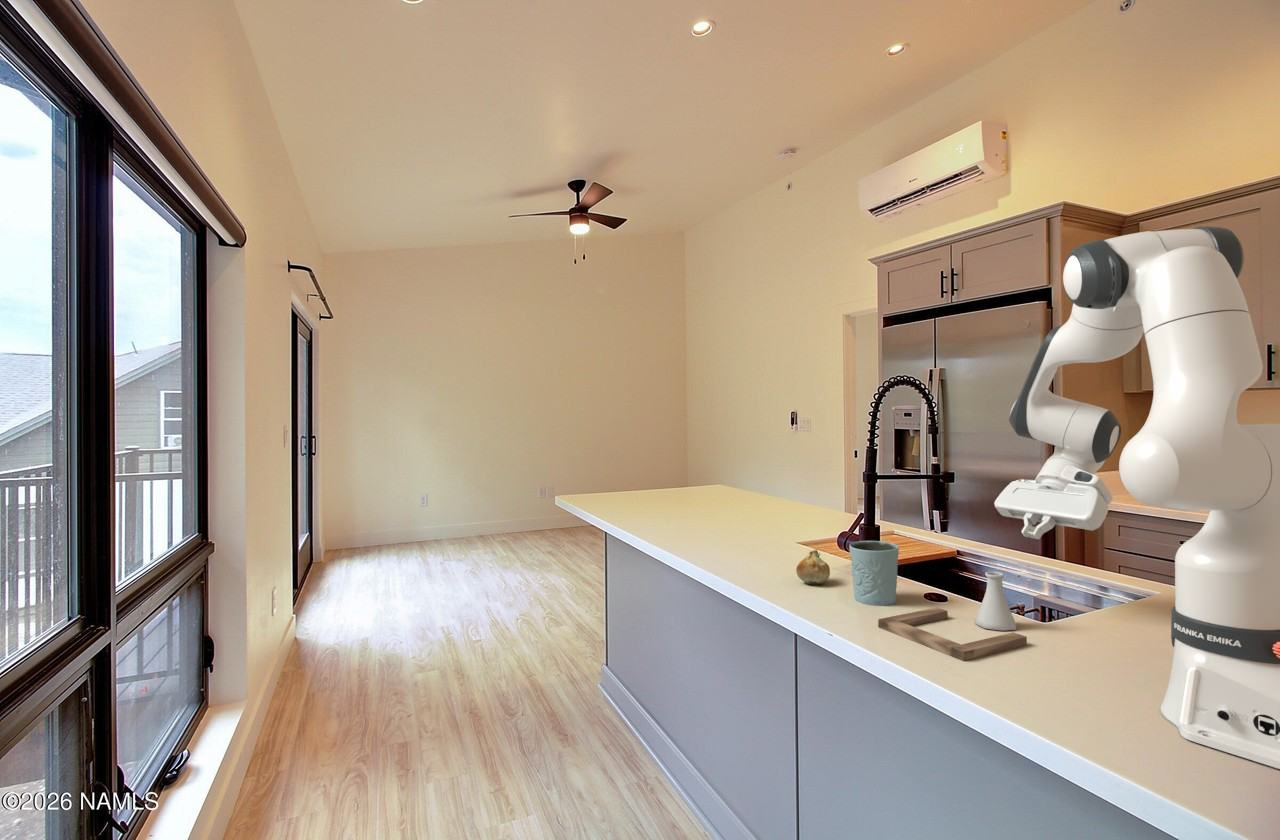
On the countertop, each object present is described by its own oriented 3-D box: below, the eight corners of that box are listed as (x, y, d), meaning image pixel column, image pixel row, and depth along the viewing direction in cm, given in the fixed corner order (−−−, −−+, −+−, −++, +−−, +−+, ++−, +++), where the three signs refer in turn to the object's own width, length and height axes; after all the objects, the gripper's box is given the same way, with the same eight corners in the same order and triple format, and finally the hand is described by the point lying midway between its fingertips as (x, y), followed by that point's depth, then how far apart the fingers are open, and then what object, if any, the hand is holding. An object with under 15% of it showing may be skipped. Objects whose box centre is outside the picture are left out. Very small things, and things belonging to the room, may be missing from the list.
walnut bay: (1026, 645, 114) (1026, 636, 114) (963, 661, 108) (963, 651, 108) (937, 614, 131) (937, 607, 131) (878, 626, 125) (878, 619, 125)
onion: (790, 581, 159) (789, 548, 159) (820, 578, 161) (819, 546, 161) (805, 589, 152) (804, 555, 152) (836, 586, 154) (835, 552, 154)
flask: (1023, 632, 120) (1022, 578, 120) (980, 631, 122) (979, 577, 122) (1009, 620, 127) (1008, 569, 127) (969, 618, 129) (968, 568, 129)
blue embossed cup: (902, 596, 145) (901, 542, 144) (896, 609, 136) (896, 551, 135) (854, 591, 149) (853, 539, 149) (846, 603, 140) (845, 548, 140)
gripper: (1007, 468, 141) (975, 517, 137) (1107, 477, 122) (1074, 535, 118) (1021, 487, 143) (990, 536, 139) (1122, 499, 124) (1089, 556, 120)
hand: (1029, 536), depth 129 cm, fingers closed
